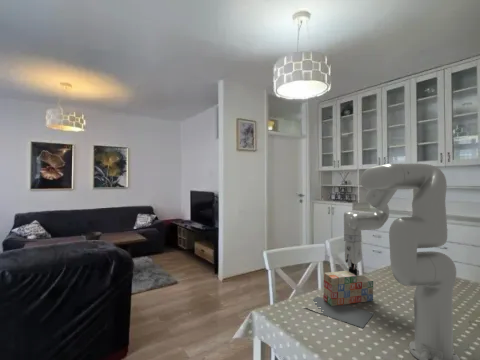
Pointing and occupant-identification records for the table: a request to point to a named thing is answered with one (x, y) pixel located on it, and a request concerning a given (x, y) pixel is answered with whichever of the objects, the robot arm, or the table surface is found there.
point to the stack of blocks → (346, 288)
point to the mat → (344, 313)
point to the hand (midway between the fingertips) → (352, 276)
